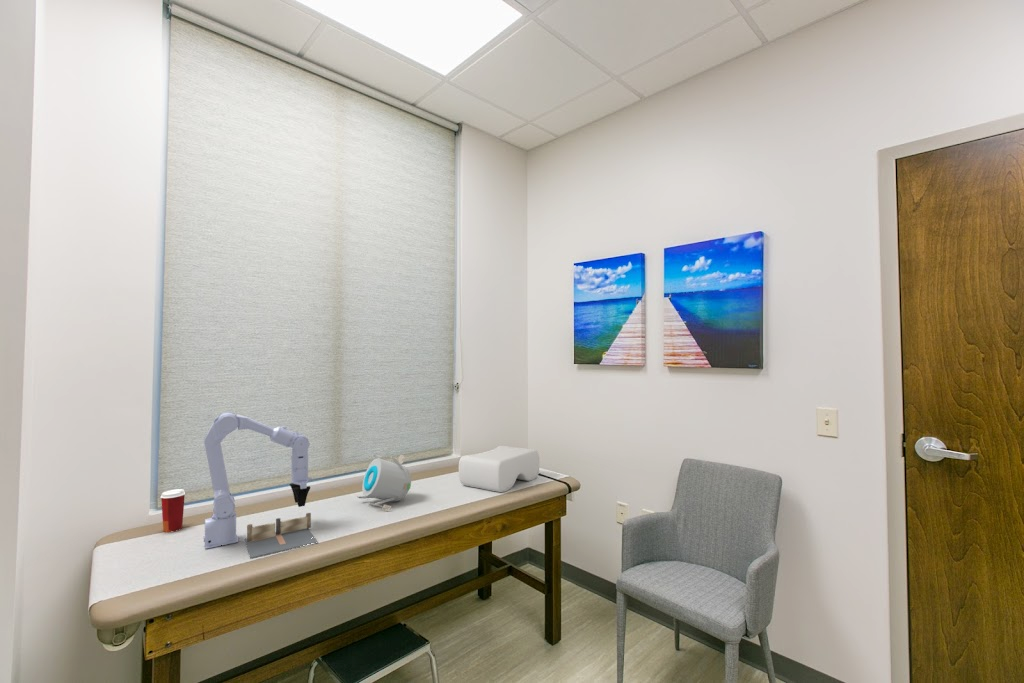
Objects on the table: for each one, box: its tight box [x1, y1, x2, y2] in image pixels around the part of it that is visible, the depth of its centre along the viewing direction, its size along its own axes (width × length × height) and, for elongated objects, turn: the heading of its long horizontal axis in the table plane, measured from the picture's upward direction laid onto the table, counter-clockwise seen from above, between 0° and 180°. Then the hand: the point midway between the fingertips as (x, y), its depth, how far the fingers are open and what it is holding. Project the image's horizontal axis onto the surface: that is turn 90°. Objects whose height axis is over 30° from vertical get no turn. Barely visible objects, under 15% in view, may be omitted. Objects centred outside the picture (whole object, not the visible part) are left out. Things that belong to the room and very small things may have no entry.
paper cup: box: [159, 488, 186, 533], centre depth 171 cm, size 8×8×14 cm
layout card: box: [244, 528, 319, 560], centre depth 158 cm, size 20×19×1 cm
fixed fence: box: [246, 522, 276, 542], centre depth 160 cm, size 9×2×5 cm, turn 125°
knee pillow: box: [458, 445, 540, 493], centre depth 229 cm, size 35×25×15 cm
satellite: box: [357, 452, 412, 512], centre depth 200 cm, size 23×20×25 cm
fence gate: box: [275, 512, 312, 535], centre depth 166 cm, size 12×2×5 cm, turn 125°
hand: (299, 504), depth 171 cm, fingers open, 6 cm apart
